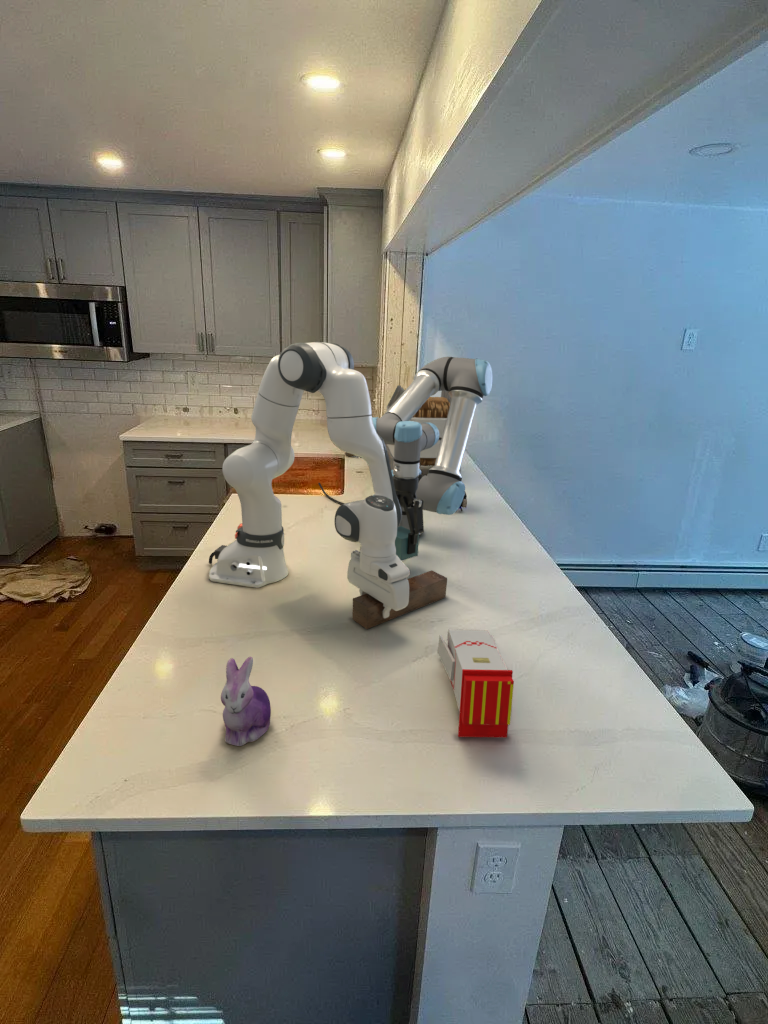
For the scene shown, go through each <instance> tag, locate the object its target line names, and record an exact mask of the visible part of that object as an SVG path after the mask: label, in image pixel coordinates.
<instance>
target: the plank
mask: <svg viewBox="0 0 768 1024" xmlns="http://www.w3.org/2000/svg"><path fill="white" fill-rule="evenodd" d="M407 580H408V582H409V602H408V605H407V606H406V607H405V608H403V609H401V610H398V611H395V610H393V609H391V610H390V612H389V617H387V618H383V617H382V616H381V615H380V614H381V610H384V608H385V607H384V606H383V603H382V602H380V601H379V600H377V599H375V598H374V597H372V596H370V595H369V594H364V595H359V596H356V597H353V598H352V614H351V615H352V616H351V617H352V620H353V621H354V622H355V623H357V624H358V625H360V626H361V627H363V628H364V629H365V630H368V629H371V628H374V627H377V626H378V625H381V624H384V623H386V622H389V621H392V620H393V619H396V618H399V617H401V616H404V615H406V614H408V613H411V612H413V611H416V610H418V609H421V608H422V607H425V606H428V605H430V604H434V603H435V602H438V601H440V600H443V599H445V598H446V597H447V585H448V577H446V576H444V575H442V574H441V573H438V572H436V571H435V570H428V571H426V572H423V573H420V574H418V575H415V576H412V577H409V578H407Z"/></svg>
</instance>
